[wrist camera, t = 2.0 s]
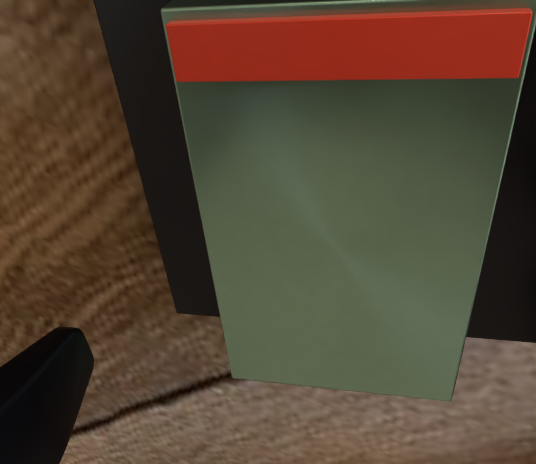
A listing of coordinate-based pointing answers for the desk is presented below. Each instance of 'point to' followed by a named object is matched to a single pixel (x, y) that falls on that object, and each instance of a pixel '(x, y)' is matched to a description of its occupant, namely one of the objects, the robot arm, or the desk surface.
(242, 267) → the box
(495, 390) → the desk surface
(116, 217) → the desk surface
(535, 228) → the black square platform
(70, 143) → the desk surface
